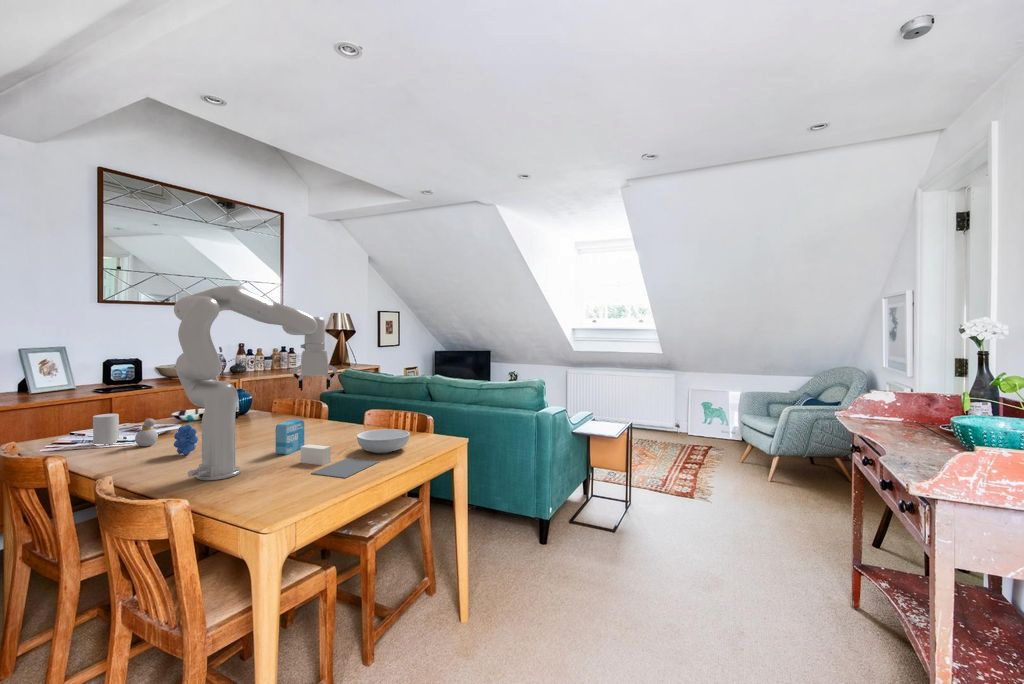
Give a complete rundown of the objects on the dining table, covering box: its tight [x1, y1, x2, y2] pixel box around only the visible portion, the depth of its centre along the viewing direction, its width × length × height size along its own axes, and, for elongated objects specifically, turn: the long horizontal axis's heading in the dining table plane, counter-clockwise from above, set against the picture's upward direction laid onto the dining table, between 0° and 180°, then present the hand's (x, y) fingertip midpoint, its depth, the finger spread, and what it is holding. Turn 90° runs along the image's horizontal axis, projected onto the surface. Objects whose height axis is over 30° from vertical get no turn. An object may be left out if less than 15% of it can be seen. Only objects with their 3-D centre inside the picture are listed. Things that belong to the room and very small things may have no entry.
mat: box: [310, 457, 381, 479], centre depth 166 cm, size 20×14×1 cm
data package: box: [275, 418, 305, 456], centre depth 186 cm, size 12×4×12 cm, turn 170°
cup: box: [92, 413, 120, 445], centre depth 194 cm, size 8×8×12 cm
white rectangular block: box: [300, 443, 332, 466], centre depth 172 cm, size 4×10×6 cm, turn 73°
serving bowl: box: [356, 428, 411, 454], centre depth 190 cm, size 21×21×7 cm
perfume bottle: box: [134, 417, 159, 447], centre depth 192 cm, size 8×10×12 cm
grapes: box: [173, 424, 199, 456], centre depth 180 cm, size 12×7×12 cm, turn 71°
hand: (314, 389), depth 188 cm, fingers open, 9 cm apart
